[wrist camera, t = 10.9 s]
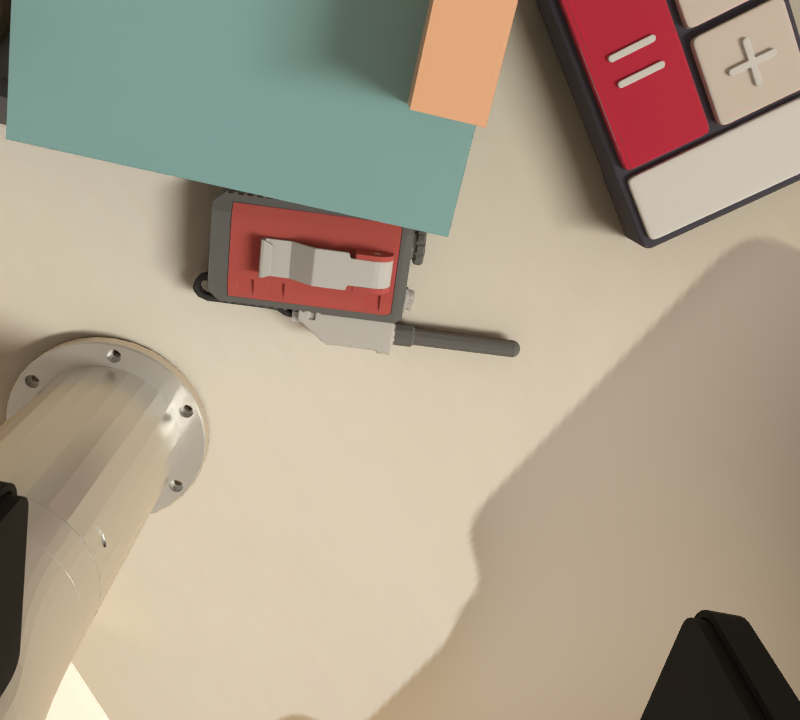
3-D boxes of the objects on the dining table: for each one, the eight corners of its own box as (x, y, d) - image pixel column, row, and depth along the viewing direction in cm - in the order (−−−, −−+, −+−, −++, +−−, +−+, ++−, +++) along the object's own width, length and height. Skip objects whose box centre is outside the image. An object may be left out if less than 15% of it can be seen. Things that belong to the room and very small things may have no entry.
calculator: (759, -132, 36) (846, 164, 40) (723, -107, 40) (805, 158, 44) (543, -19, 38) (648, 254, 42) (529, -6, 42) (626, 241, 46)
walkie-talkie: (197, 319, 47) (513, 358, 49) (179, 343, 43) (524, 385, 45) (203, 176, 44) (540, 222, 46) (184, 187, 40) (555, 237, 41)
